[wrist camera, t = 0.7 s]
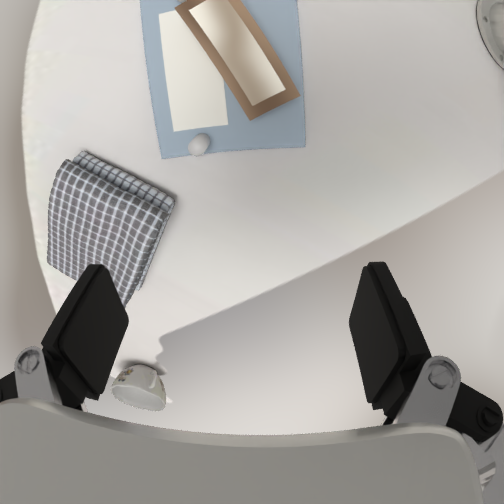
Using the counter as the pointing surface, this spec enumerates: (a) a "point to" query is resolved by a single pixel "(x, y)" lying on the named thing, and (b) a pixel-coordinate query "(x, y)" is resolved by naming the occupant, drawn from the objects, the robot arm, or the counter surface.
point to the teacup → (140, 388)
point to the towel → (104, 222)
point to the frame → (239, 53)
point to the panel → (217, 84)
